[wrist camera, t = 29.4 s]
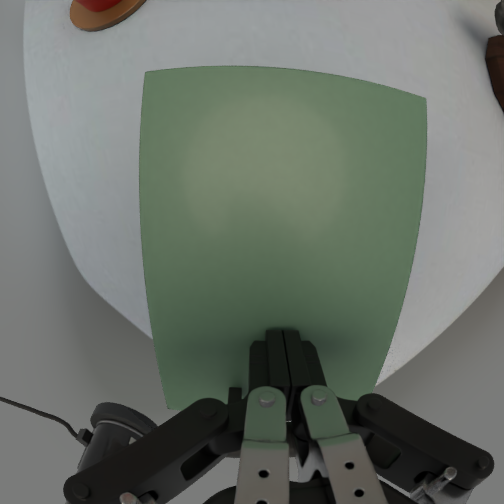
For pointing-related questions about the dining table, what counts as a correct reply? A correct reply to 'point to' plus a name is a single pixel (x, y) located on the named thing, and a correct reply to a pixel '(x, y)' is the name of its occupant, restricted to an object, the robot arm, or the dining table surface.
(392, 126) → the chest lid
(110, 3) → the sauce bottle
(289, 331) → the robot arm
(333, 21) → the dining table surface
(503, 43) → the mug
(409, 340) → the dining table surface
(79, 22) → the disc
